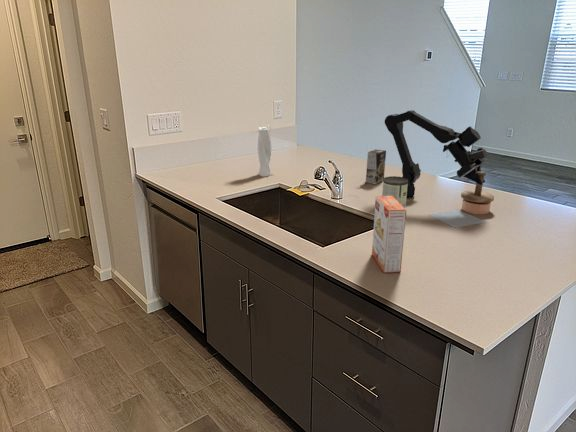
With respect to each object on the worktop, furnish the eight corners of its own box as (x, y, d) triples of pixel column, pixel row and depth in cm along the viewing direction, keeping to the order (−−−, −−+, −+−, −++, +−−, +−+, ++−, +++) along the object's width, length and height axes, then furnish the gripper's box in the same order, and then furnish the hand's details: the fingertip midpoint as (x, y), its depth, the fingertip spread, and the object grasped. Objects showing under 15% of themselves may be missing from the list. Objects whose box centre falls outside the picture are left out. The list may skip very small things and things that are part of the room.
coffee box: (376, 184, 231) (378, 153, 225) (365, 182, 234) (367, 151, 229) (384, 180, 237) (386, 150, 232) (373, 178, 241) (375, 148, 235)
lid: (480, 204, 183) (485, 178, 179) (454, 196, 194) (458, 170, 190) (500, 199, 190) (504, 173, 186) (473, 191, 200) (477, 167, 196)
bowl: (468, 215, 188) (470, 205, 187) (457, 206, 198) (458, 196, 197) (494, 214, 189) (495, 204, 187) (481, 206, 199) (483, 196, 198)
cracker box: (370, 254, 152) (375, 195, 145) (388, 253, 152) (393, 194, 145) (382, 273, 139) (387, 209, 131) (401, 273, 139) (407, 209, 132)
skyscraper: (275, 176, 246) (275, 124, 236) (263, 178, 242) (262, 125, 232) (267, 172, 252) (267, 122, 243) (255, 175, 248) (253, 123, 238)
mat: (455, 228, 174) (455, 227, 174) (427, 215, 188) (427, 214, 187) (486, 222, 180) (486, 221, 180) (457, 210, 194) (457, 209, 194)
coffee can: (382, 206, 199) (384, 175, 194) (406, 208, 196) (409, 177, 191) (378, 213, 190) (381, 181, 185) (403, 216, 186) (407, 183, 181)
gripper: (468, 145, 179) (493, 177, 176) (482, 138, 193) (505, 168, 190) (446, 161, 186) (469, 192, 184) (461, 154, 200) (483, 182, 198)
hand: (482, 183), depth 189 cm, fingers closed on lid, 3 cm apart
